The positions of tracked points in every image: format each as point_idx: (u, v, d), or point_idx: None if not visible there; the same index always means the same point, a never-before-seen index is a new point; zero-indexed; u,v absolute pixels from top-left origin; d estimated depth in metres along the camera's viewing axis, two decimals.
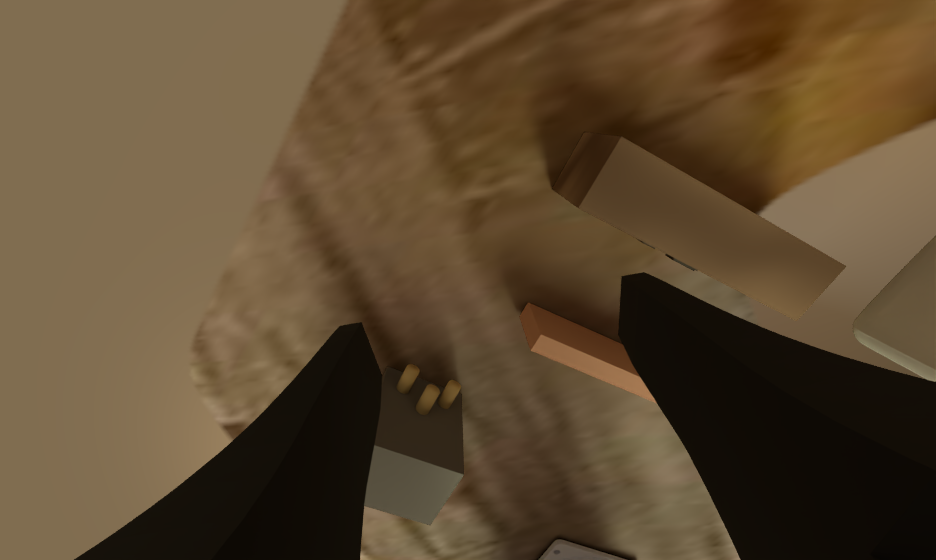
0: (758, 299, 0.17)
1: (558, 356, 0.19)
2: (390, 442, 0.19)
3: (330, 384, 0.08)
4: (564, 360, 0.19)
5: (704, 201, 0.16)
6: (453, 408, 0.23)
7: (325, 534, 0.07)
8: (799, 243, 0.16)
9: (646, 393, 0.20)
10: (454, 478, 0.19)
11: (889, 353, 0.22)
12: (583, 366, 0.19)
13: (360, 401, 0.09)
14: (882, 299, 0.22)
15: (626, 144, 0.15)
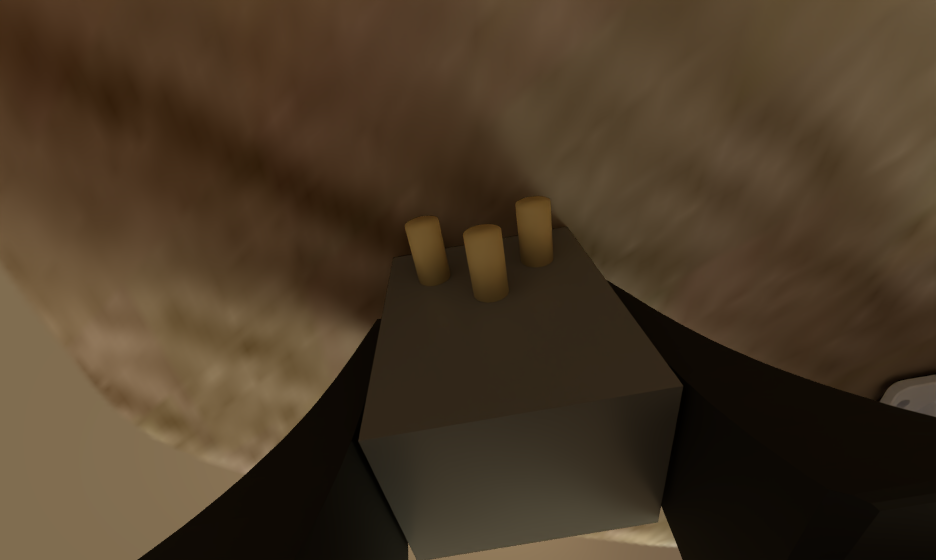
0: None
1: None
2: (428, 404, 0.06)
3: None
4: None
5: None
6: (563, 256, 0.10)
7: (382, 525, 0.07)
8: None
9: None
10: (659, 407, 0.06)
11: None
12: None
13: None
14: None
15: None
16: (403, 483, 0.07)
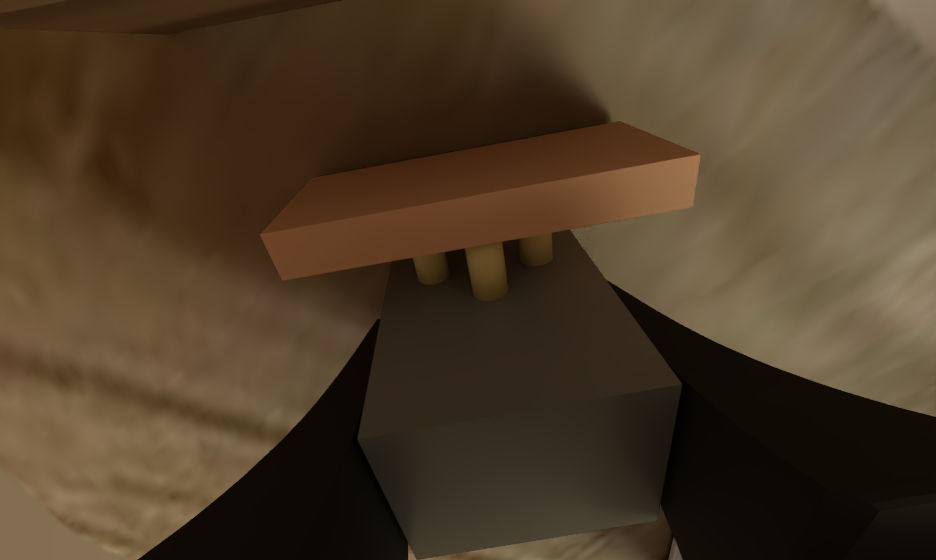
0: None
1: (350, 255, 0.07)
2: (428, 402, 0.06)
3: None
4: (371, 254, 0.07)
5: None
6: (562, 255, 0.10)
7: (382, 525, 0.07)
8: None
9: (633, 204, 0.07)
10: (659, 405, 0.06)
11: None
12: (425, 240, 0.07)
13: None
14: None
15: None
16: (402, 481, 0.07)
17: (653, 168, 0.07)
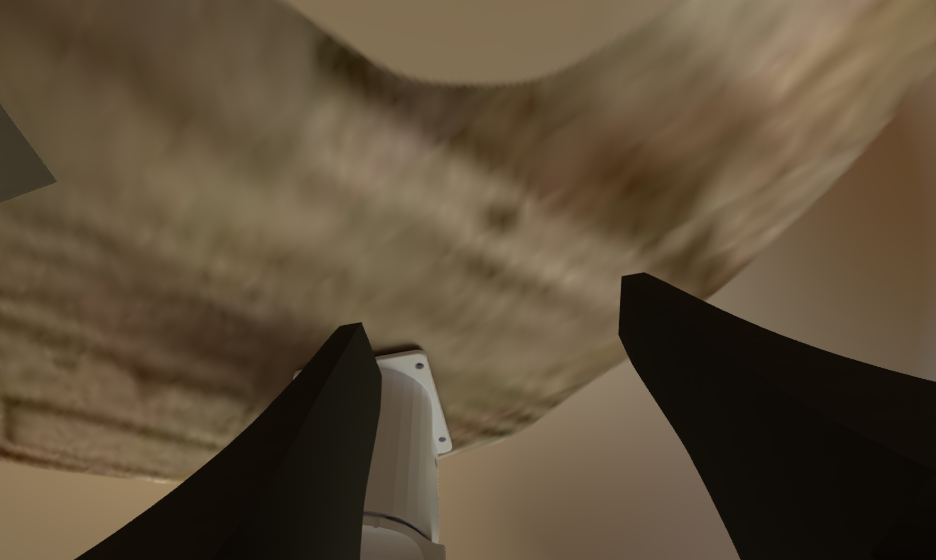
0: None
1: None
2: None
3: (330, 384, 0.08)
4: None
5: None
6: None
7: (325, 534, 0.07)
8: None
9: None
10: None
11: None
12: None
13: (360, 401, 0.09)
14: None
15: None
16: None
17: None
